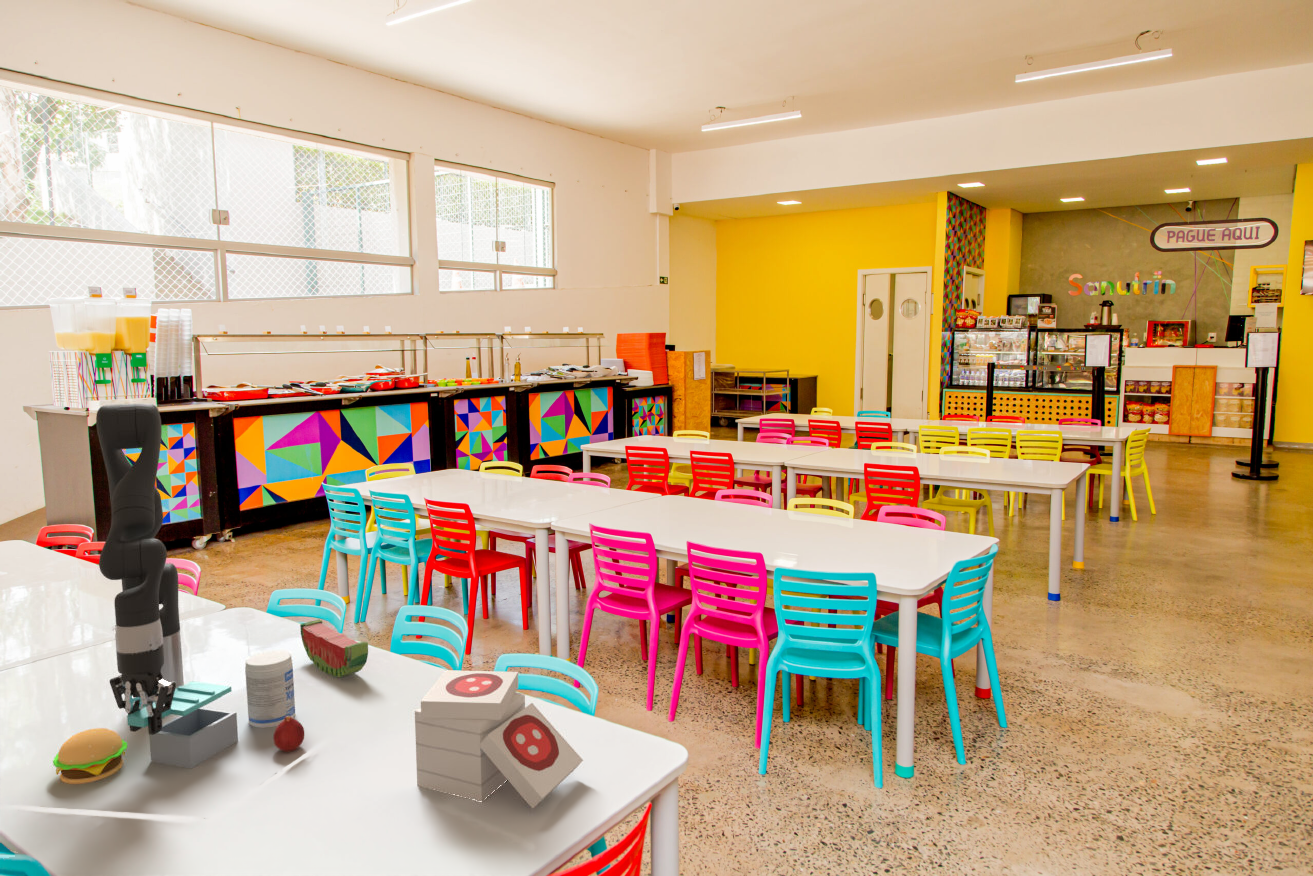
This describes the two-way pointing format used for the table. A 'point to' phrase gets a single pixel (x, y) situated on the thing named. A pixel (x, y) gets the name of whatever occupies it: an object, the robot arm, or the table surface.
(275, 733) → the red round fruit
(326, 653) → the fruit slice
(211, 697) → the lid
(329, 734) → the table surface
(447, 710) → the pizza boxes
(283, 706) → the supplement tub
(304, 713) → the table surface
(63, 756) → the hamburger
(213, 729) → the tub
